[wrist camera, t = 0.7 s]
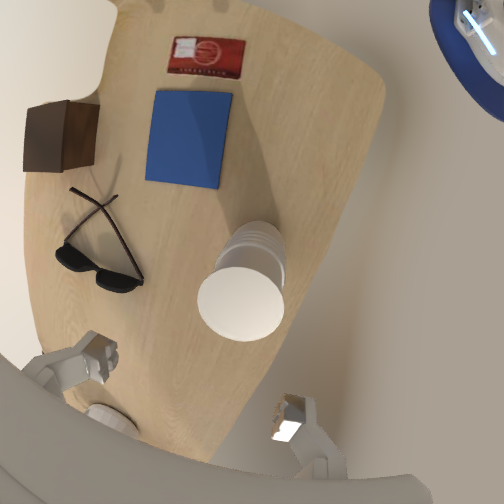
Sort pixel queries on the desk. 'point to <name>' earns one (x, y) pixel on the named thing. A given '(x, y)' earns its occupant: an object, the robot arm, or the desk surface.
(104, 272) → the sunglasses
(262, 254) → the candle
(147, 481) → the robot arm
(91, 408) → the white plant pot
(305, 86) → the desk surface
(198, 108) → the cloth
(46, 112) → the box
